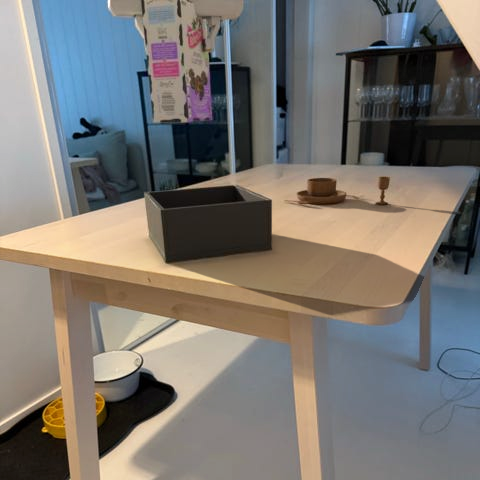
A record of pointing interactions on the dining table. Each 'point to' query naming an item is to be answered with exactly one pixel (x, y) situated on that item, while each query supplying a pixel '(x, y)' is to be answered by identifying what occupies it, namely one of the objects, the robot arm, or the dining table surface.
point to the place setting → (332, 191)
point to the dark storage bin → (208, 222)
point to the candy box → (176, 61)
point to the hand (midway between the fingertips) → (180, 52)
